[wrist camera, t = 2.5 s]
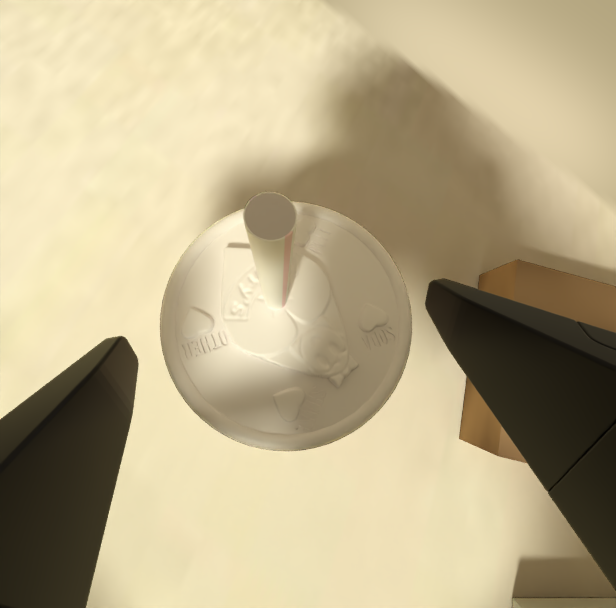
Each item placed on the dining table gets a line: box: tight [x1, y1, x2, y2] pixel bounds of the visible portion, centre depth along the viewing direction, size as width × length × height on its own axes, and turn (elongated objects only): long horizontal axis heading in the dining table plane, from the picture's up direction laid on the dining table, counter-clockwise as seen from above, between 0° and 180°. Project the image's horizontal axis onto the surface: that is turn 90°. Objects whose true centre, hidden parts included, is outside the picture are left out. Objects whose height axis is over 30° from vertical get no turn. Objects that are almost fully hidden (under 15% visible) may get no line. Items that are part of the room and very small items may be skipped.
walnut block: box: [459, 259, 616, 463], centre depth 16 cm, size 10×10×3 cm
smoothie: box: [160, 191, 412, 451], centre depth 10 cm, size 6×6×14 cm
